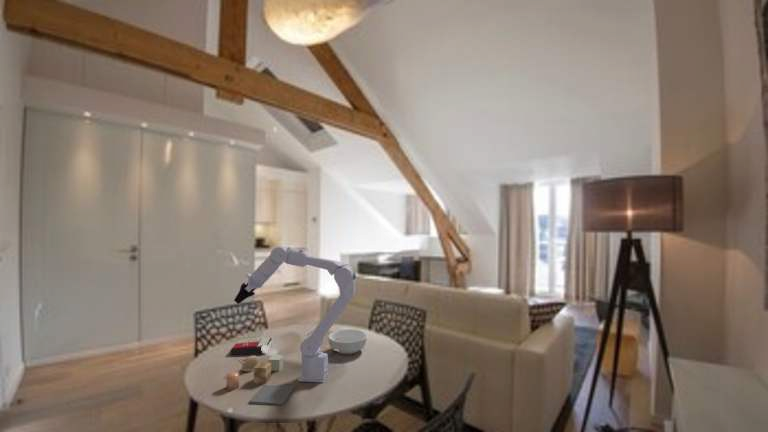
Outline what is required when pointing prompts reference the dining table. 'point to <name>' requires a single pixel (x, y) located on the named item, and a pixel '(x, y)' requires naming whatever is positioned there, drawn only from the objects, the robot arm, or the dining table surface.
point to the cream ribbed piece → (249, 363)
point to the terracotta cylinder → (232, 381)
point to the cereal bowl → (348, 341)
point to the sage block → (276, 362)
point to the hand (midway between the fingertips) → (240, 298)
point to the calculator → (249, 346)
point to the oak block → (262, 372)
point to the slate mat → (272, 395)
